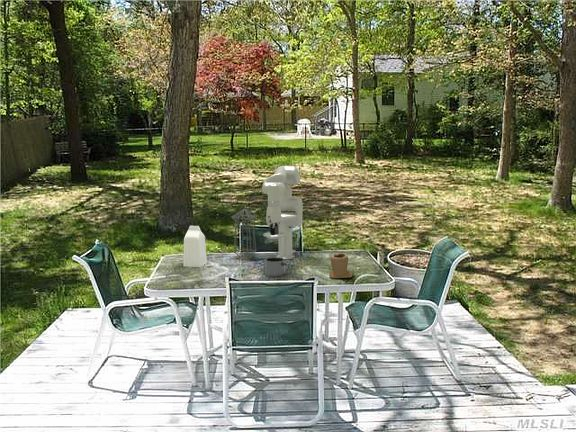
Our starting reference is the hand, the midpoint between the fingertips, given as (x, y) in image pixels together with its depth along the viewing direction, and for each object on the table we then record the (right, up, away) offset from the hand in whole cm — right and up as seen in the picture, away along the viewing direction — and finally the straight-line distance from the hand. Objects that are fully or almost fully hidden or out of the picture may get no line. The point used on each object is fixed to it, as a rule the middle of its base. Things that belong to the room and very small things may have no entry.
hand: (274, 233), depth 339 cm
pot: (0, -25, +4) cm, 25 cm away
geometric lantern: (-21, -19, +46) cm, 54 cm away
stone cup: (+41, -27, -6) cm, 49 cm away
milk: (-53, -22, +29) cm, 64 cm away
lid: (0, -2, 0) cm, 2 cm away
